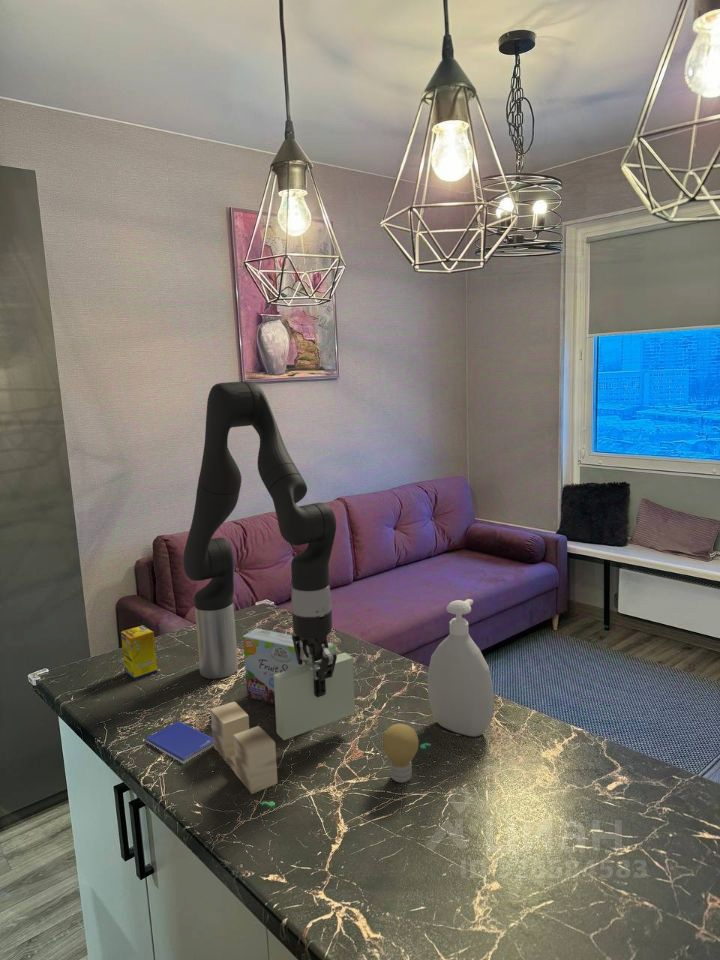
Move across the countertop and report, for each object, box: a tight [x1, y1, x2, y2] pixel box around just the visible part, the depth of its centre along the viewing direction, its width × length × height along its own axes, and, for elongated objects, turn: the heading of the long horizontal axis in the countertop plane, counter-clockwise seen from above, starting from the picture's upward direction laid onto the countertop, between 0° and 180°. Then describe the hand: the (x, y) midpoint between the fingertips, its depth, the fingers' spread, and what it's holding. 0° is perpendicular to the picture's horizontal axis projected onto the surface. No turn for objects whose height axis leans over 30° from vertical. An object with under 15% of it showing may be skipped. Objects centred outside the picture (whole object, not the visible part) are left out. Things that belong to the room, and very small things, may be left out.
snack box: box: [242, 627, 336, 705], centre depth 143 cm, size 21×6×15 cm, turn 62°
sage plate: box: [274, 652, 356, 741], centre depth 127 cm, size 3×16×12 cm, turn 124°
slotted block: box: [210, 701, 278, 795], centre depth 121 cm, size 18×5×8 cm, turn 34°
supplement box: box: [120, 624, 158, 681], centre depth 160 cm, size 6×6×11 cm
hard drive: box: [145, 720, 213, 765], centre depth 130 cm, size 2×8×12 cm
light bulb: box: [381, 723, 419, 784], centre depth 115 cm, size 6×6×10 cm
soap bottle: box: [427, 598, 495, 737], centre depth 130 cm, size 14×8×27 cm, turn 53°
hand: (315, 691), depth 127 cm, fingers closed on sage plate, 3 cm apart
